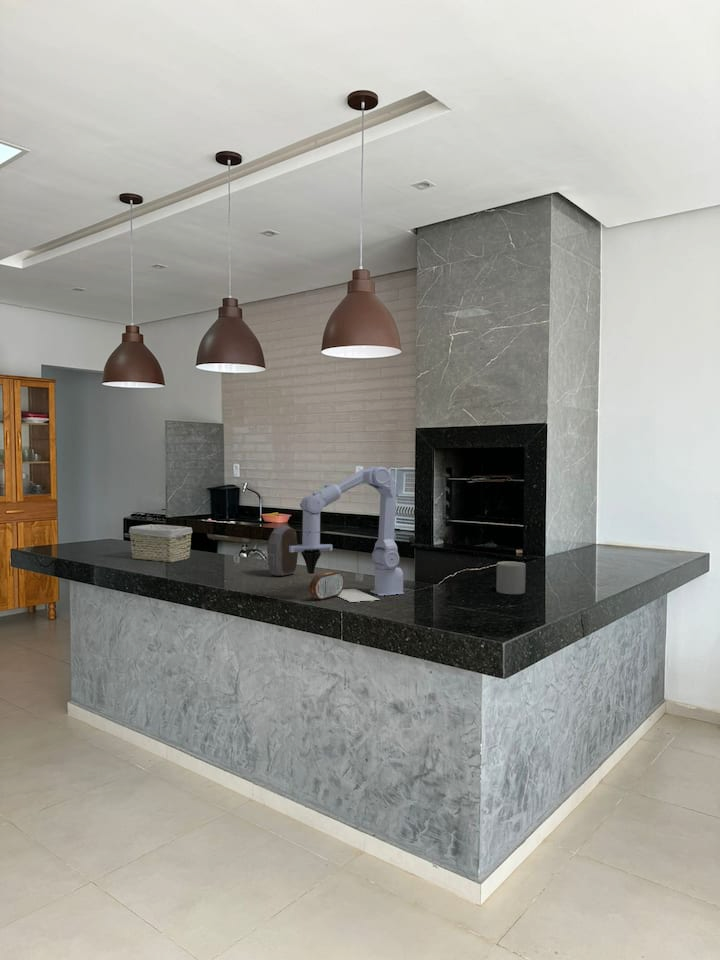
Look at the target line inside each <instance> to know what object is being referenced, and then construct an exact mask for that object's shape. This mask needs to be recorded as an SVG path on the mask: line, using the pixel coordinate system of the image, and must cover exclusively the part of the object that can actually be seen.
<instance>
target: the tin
mask: <svg viewBox="0 0 720 960" xmlns="http://www.w3.org/2000/svg"><path fill="white" fill-rule="evenodd" d="M344 577H345V576H344V575H343V573H341V572H339V571H336V570H330V571H324V572H319V573H317V574H316V573H315V575H314V576H313V577H312V578H311V580H310V582H309V588H308V589H309V594H310V596H311V598H313V599H316V600H325V599H330V598H333V597H337V595H339V594H340V593H341V592H342V590H344V587H345V579H344Z"/></svg>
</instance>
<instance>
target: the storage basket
mask: <svg viewBox="0 0 720 960" xmlns="http://www.w3.org/2000/svg"><path fill="white" fill-rule="evenodd" d="M128 533H129V537H130V550H131V557H132V559H134V560H135V559H136V560H144V561H153V562H165V563H174V562H179V561H184V560H188V559H190V555H191V545H192V542H191V541H192V539H191V538H192V534H193V528H192V527H189V526H182V525H181V526H180V525H169V524H168V525H167V524H152V523H150V524H141V525H135V526H130V527H129V529H128Z"/></svg>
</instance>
